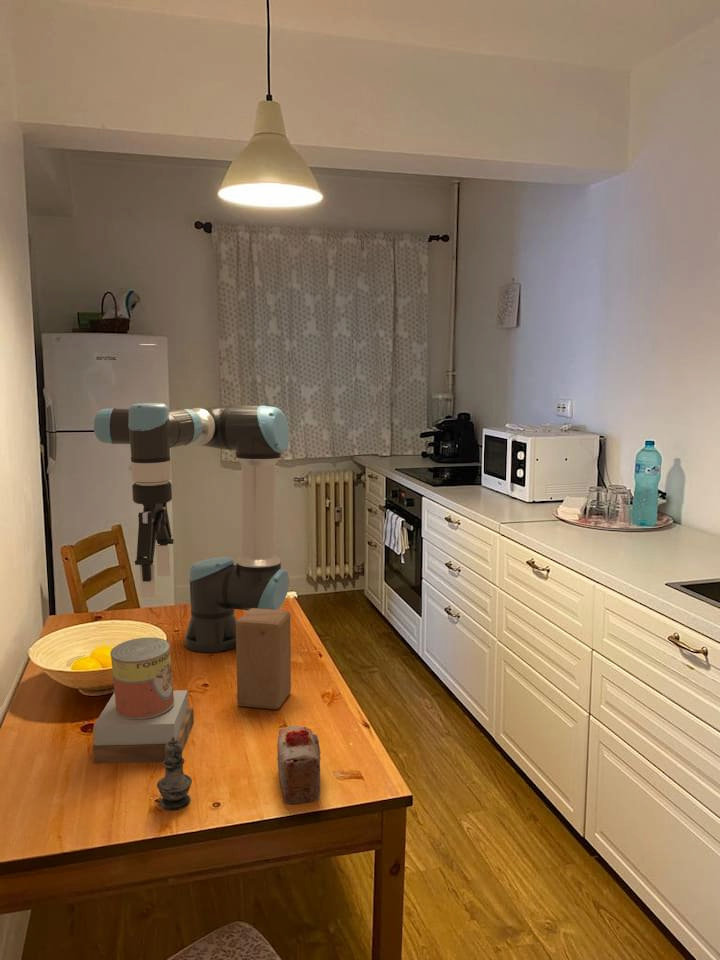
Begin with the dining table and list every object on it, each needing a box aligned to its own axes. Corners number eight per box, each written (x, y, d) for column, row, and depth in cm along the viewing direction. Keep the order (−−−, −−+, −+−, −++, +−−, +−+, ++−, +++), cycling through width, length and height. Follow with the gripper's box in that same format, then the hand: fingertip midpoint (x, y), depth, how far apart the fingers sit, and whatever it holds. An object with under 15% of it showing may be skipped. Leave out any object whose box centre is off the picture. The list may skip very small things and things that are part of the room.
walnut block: (117, 726, 158) (116, 708, 157) (193, 725, 158) (193, 707, 158) (93, 766, 142) (92, 746, 141) (178, 764, 142) (178, 745, 142)
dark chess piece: (160, 814, 125) (158, 748, 124) (155, 796, 131) (152, 732, 129) (195, 806, 128) (193, 741, 126) (188, 789, 133) (186, 726, 131)
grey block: (115, 709, 156) (114, 691, 156) (188, 708, 157) (187, 690, 157) (94, 745, 141) (93, 725, 141) (174, 743, 142) (174, 723, 142)
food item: (274, 766, 141) (273, 716, 140) (316, 761, 143) (316, 713, 141) (281, 807, 128) (281, 753, 127) (327, 801, 130) (327, 748, 128)
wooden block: (279, 711, 163) (278, 623, 161) (235, 707, 165) (234, 620, 162) (292, 692, 173) (291, 609, 170) (251, 688, 175) (249, 606, 172)
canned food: (155, 722, 142) (150, 663, 140) (103, 716, 145) (98, 658, 143) (184, 695, 153) (180, 640, 150) (136, 689, 156) (131, 635, 153)
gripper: (147, 472, 160) (152, 567, 163) (114, 494, 135) (121, 606, 139) (183, 471, 160) (187, 567, 164) (156, 493, 135) (162, 605, 139)
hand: (156, 585), depth 151 cm, fingers open, 13 cm apart
